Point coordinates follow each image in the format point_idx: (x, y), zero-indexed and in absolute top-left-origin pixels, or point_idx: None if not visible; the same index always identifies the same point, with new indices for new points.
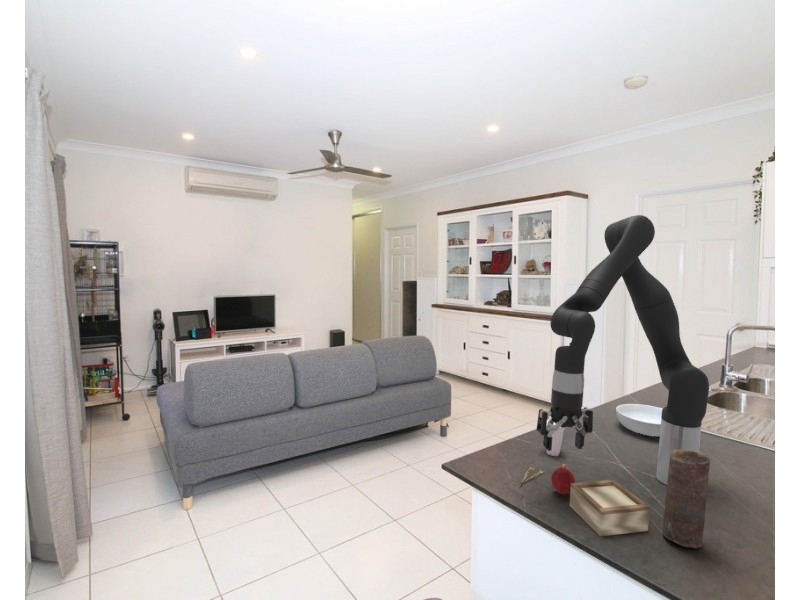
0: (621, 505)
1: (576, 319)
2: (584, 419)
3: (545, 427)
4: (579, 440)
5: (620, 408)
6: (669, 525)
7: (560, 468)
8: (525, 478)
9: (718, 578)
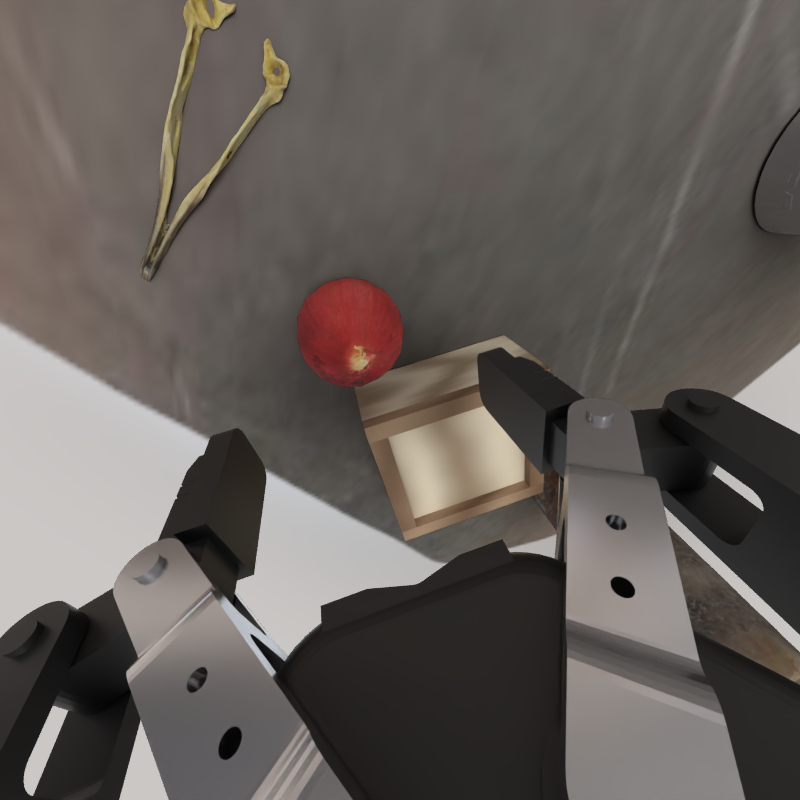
0: (479, 483)
1: None
2: (798, 533)
3: (117, 768)
4: (513, 435)
5: None
6: (541, 506)
7: (340, 361)
8: (172, 178)
9: (531, 525)
